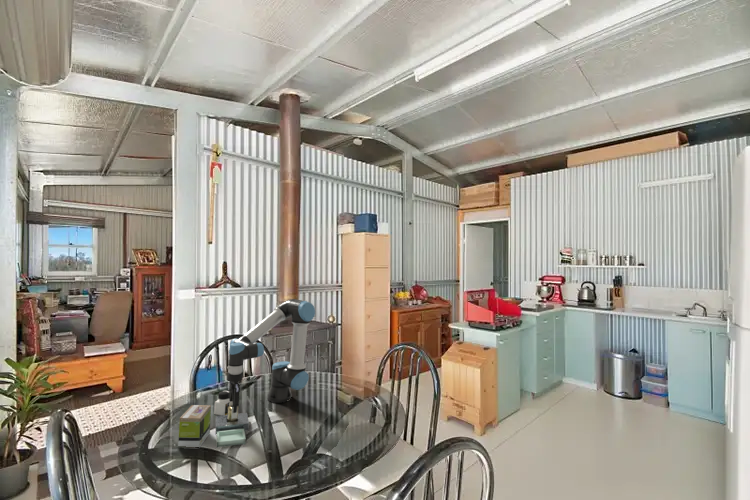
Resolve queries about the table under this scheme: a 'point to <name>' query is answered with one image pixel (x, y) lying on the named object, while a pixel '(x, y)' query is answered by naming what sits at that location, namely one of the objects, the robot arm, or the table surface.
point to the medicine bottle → (222, 403)
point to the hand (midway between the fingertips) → (232, 415)
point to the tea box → (194, 426)
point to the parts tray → (230, 437)
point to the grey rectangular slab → (232, 423)
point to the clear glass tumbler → (231, 413)
